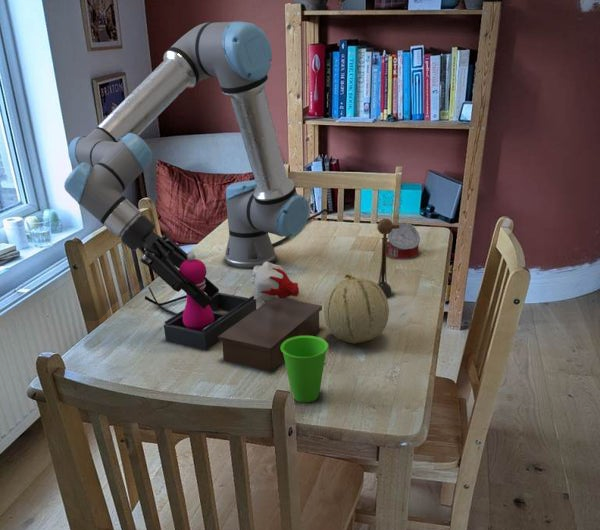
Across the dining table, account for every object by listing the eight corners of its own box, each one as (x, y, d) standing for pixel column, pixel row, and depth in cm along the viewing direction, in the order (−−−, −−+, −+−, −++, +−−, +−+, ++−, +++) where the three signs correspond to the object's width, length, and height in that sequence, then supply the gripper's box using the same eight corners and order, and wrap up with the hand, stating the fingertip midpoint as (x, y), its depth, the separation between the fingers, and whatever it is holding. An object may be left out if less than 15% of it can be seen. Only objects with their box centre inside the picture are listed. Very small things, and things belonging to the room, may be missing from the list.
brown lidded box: (274, 319, 157) (273, 296, 153) (322, 328, 151) (322, 305, 148) (220, 361, 139) (217, 336, 135) (272, 373, 133) (270, 347, 130)
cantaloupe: (370, 360, 137) (372, 295, 129) (311, 345, 144) (310, 282, 136) (398, 334, 148) (402, 272, 140) (343, 321, 155) (343, 261, 147)
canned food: (415, 264, 200) (432, 238, 194) (401, 271, 192) (419, 244, 186) (387, 243, 203) (403, 216, 197) (373, 248, 195) (390, 221, 189)
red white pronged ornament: (254, 286, 174) (306, 298, 171) (237, 302, 165) (292, 315, 161) (256, 255, 169) (309, 267, 166) (239, 269, 160) (295, 282, 156)
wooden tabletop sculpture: (394, 290, 170) (398, 215, 160) (396, 297, 166) (400, 221, 156) (372, 291, 170) (374, 216, 160) (373, 298, 166) (376, 221, 156)
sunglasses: (155, 294, 172) (152, 277, 170) (208, 294, 171) (206, 277, 169) (138, 320, 158) (135, 302, 155) (196, 320, 157) (194, 302, 154)
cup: (281, 385, 129) (278, 336, 123) (325, 382, 129) (325, 334, 124) (284, 409, 121) (281, 358, 115) (331, 406, 122) (331, 355, 116)
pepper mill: (210, 343, 146) (201, 259, 136) (180, 341, 147) (169, 257, 137) (219, 330, 152) (211, 248, 142) (191, 328, 153) (180, 247, 143)
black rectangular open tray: (218, 306, 164) (217, 288, 162) (256, 314, 160) (255, 295, 157) (165, 340, 148) (162, 321, 145) (206, 350, 143) (204, 330, 141)
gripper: (136, 225, 148) (211, 294, 154) (104, 251, 132) (190, 326, 138) (154, 202, 144) (231, 273, 151) (124, 226, 128) (211, 304, 135)
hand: (211, 298), depth 144 cm, fingers closed on pepper mill, 6 cm apart
